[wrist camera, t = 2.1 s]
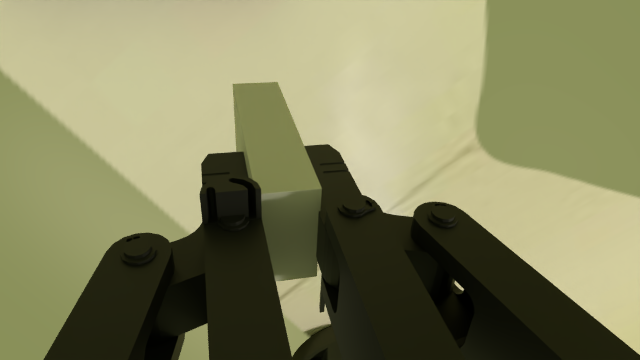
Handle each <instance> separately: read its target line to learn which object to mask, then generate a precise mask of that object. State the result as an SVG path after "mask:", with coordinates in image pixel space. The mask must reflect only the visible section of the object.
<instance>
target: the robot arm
mask: <svg viewBox="0 0 640 360" xmlns="http://www.w3.org/2000/svg"><path fill="white" fill-rule="evenodd" d="M233 97H234V115H235V133H236V152H230V153H215V154H208V155H207V157H206V158H205V159H204V161H203V162H202V164H201V168H202V188H201V191H200V203H201V212H202V221H203V222H202V224H201V225H200V227H199V228H198V229H197V230H196V231H195V232H193V233H192V234H190V235H189V236H187V237H185V238H182V239H180V240H177V241H174V242H171V243H170V242H169V241H168V240H167V239H166V238H164V237H163V236H161V235H159V234H152V233H138V234H133V235H131V236H127V237H124V238H122V239H120V240H119V241H117V242H115V243H114V244H113V245H112V246H111V247H110V248H109V249H108V250H107V251H106V253H105V255H104V256H103V258H102V260H101V261H100V263H99V265H98V267H97V268H96V270H95V272H94V274H93V276H92V277H91V279H90V280H89V283H88V284H87V286H86V287H85V289H84V291H83V293H82V294H81V296H80V298H79V299H78V301H77V303H76V305H75V306H74V308H73V310H72V312H71V313H70V315H69V317H68V318H67V320H66V322H65V324H64V325H63V327H62V329H61V330H60V332H59V334H58V336H57V337H56V339H55V341H54V343H53V344H52V346H51V348H50V350H49V351H48V353H47V355H46V356H45V358H44V360H178V359H179V355H180V352H181V349H182V345H183V342H184V339H185V338H184V337H185V332H188V331H190V330H192V329H195V328H197V327H199V326H202V325H204V324H206V323H208V341H209V342H208V343H209V360H640V355H639V354H638V353H636V352H635V351H634V350H633V349H632V348H630V347H629V346H628V345H627V344H625V343H624V342H623V341H622V340H621V339H619V338H618V337H617V336H616V335H614V334H613V333H612V332H611V331H610V330H608V329H607V328H606V327H605V326H603V325H602V324H601V323H600V322H598V321H597V320H596V319H595V318H594V317H592V316H591V315H590V314H589V313H587V312H586V311H585V310H584V309H583V308H581V307H580V306H579V305H578V304H576V303H575V302H574V301H573V300H572V299H570V298H569V297H568V296H567V295H565V294H564V293H563V292H562V291H561V290H559V289H558V288H557V287H556V286H554V285H553V284H552V283H551V282H550V281H548V280H547V279H546V278H545V277H543V276H542V275H541V274H540V273H539V272H537V271H536V270H535V269H534V268H532V267H531V266H530V265H529V264H527V263H526V262H525V261H524V260H523V259H521V258H520V257H519V256H518V255H516V254H515V253H514V252H513V251H512V250H510V249H509V248H508V247H507V246H505V245H504V244H503V243H502V242H501V241H499V240H498V239H497V238H496V237H494V236H493V235H492V234H491V233H490V232H488V231H487V230H486V229H485V228H483V227H482V226H481V225H480V224H479V223H477V222H476V221H475V220H474V219H472V218H471V217H470V216H469V215H468V214H466V213H465V212H464V211H462V210H461V209H459V208H457V207H456V206H453V205H450V204H447V203H443V202H428V203H424V204H422V205H420V206H418V207H417V208H416V210H415V211H414V215H413V217H407V216H398V215H392V214H386V213H384V212H383V211H382V210H381V208H380V206H379V205H378V204H377V203H376V202H375V201H374V200H373V199H371V198H369V197H367V196H364V195H362V194H361V192H360V190H359V189H358V187H357V185H356V183H355V181H354V179H353V177H352V175H351V174H350V172H349V171H348V168H347V166H346V164H344V160H343V159H342V157H341V155H340V153H339V152H338V151H337V150H335V149H334V148H332V147H331V146H330V145H328V144H326V145H312V146H304V145H303V142H302V140H301V137H300V135H299V133H298V130H297V128H296V125H295V123H294V121H293V118H292V116H291V113H290V111H289V109H288V106H287V104H286V102H285V99H284V97H283V94H282V92H281V90H280V87H279V85H278V82H270V83H245V84H233ZM317 261H318V264H319V267H320V270H321V273H322V277H321V291H320V312H324V307H325V305H326V308H327V311H328V314H329V317H330V321H331V324H332V326H331V327H328V328H326V329H324V330H322V331H320V332H318V333H316V334H315V335H313V336H312V337H310V338H309V339H308V340H306V341H305V342H304V343H303V344H302V345H301V346H300V347H299V348H298V349H297V351H296V352H295V353H294V355H293V357H292V356H291V351H290V346H289V342H288V337H287V333H286V328H285V324H284V319H283V314H282V309H281V305H280V300H279V295H278V291H277V286H276V281H284V280H291V279H299V278H306V277H314V276H317ZM455 281H456V282H457V283H458V284H459V285H460V286H461V287H462V288H463V289H464V291H462V290H460V289H459V288H458V287H457V286H456V285H455V284H454V282H455Z"/></svg>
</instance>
